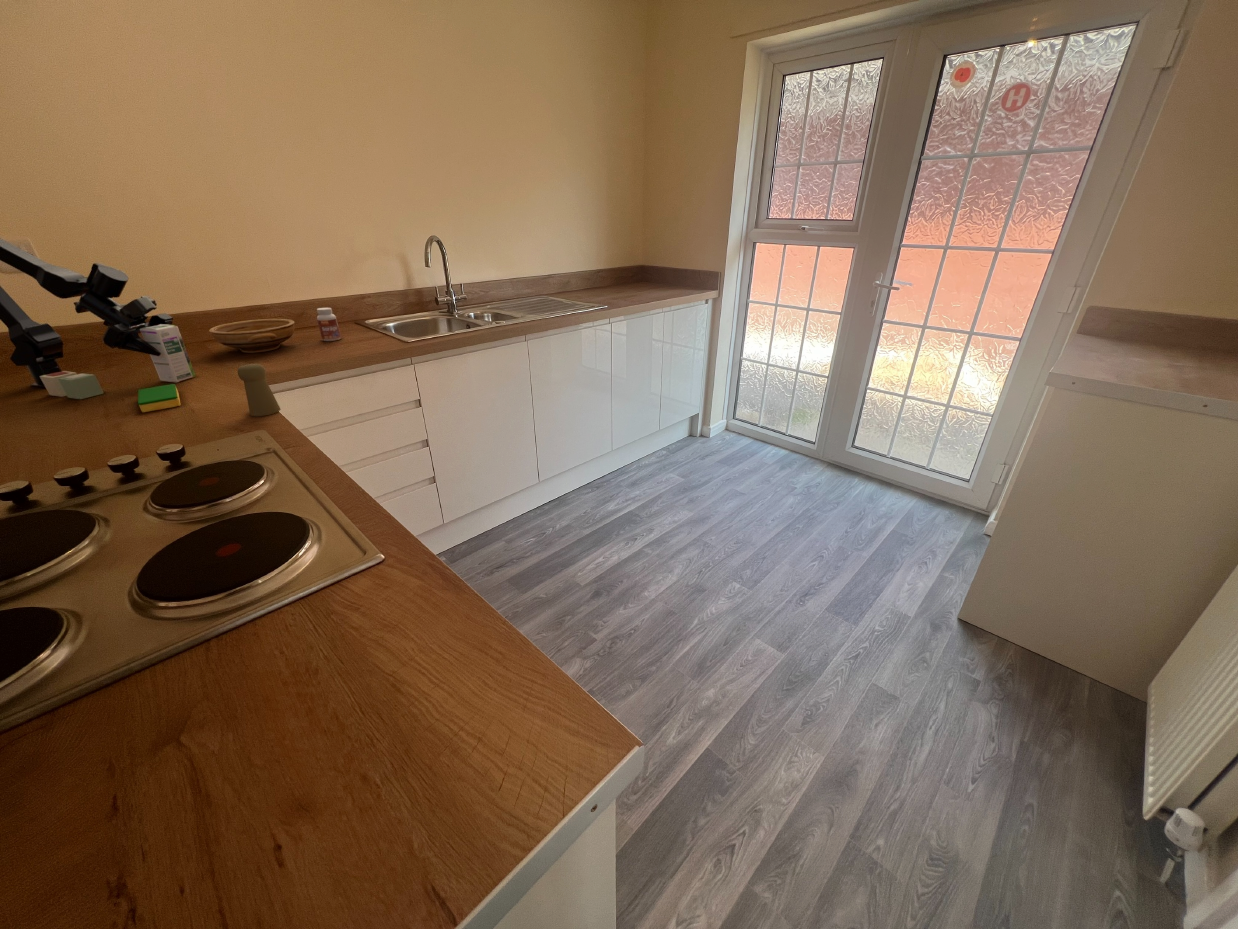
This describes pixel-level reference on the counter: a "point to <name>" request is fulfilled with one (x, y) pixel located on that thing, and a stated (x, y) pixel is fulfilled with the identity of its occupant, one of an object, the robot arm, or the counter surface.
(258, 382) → the sage salt shaker
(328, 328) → the pill bottle
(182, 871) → the counter surface
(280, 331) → the wooden bowl
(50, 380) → the cream letter block
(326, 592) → the counter surface
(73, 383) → the sage letter block
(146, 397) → the dish sponge
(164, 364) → the syrup box
